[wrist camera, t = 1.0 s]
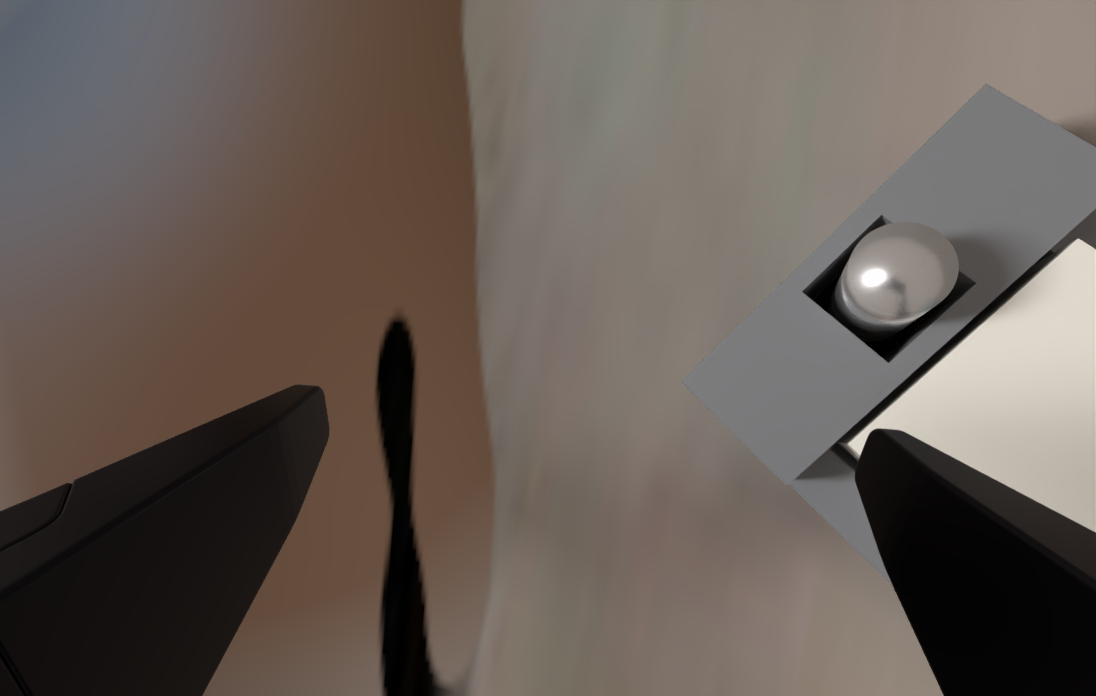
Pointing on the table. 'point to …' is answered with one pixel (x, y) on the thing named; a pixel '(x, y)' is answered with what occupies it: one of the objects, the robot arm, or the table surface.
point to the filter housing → (984, 273)
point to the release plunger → (893, 280)
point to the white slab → (1014, 389)
